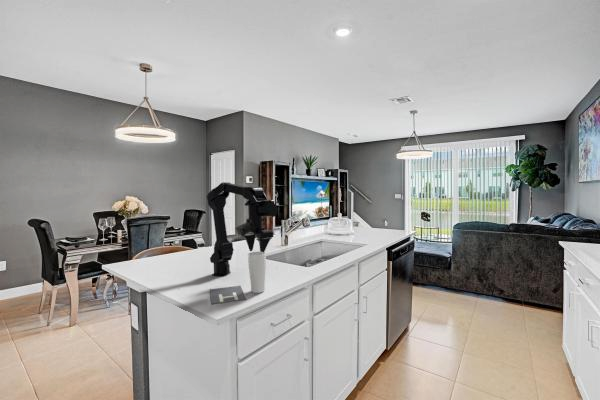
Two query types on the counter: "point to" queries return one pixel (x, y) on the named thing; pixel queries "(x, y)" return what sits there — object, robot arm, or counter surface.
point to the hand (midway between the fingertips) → (256, 252)
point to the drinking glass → (257, 271)
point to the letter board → (227, 294)
